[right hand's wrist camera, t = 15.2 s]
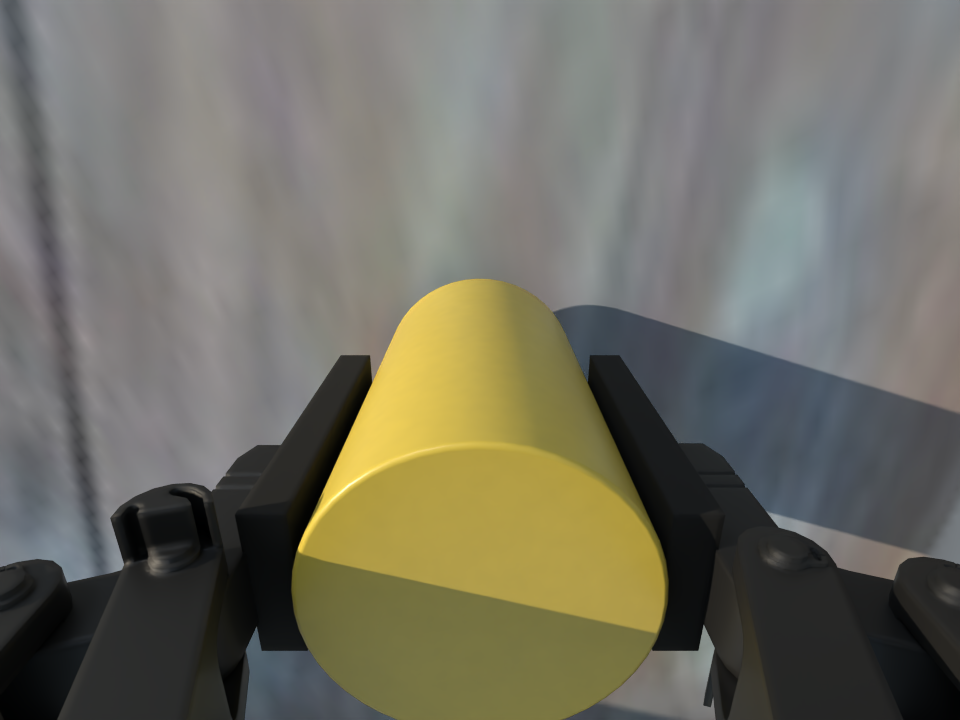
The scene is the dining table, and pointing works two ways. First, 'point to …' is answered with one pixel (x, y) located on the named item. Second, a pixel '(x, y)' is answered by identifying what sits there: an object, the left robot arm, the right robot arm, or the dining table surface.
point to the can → (480, 526)
